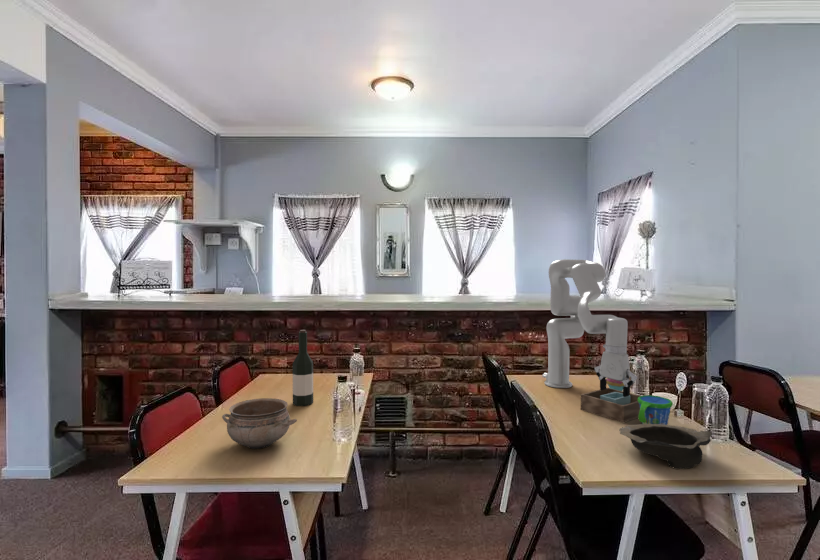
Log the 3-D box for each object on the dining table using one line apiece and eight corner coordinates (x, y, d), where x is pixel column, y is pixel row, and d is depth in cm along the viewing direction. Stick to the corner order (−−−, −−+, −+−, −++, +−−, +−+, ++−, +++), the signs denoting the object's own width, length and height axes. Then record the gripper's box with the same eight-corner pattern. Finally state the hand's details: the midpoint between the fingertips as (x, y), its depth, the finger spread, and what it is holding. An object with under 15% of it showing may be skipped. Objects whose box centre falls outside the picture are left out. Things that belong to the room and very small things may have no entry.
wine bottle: (288, 404, 185) (287, 331, 184) (300, 399, 193) (300, 328, 192) (305, 407, 182) (305, 332, 181) (317, 401, 190) (317, 329, 189)
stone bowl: (716, 482, 120) (714, 447, 120) (614, 467, 133) (612, 435, 133) (713, 449, 141) (711, 419, 141) (625, 438, 154) (623, 411, 154)
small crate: (599, 409, 178) (600, 395, 178) (615, 405, 184) (615, 391, 184) (615, 414, 173) (615, 399, 173) (630, 409, 178) (630, 395, 178)
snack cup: (652, 436, 152) (653, 406, 152) (625, 426, 162) (626, 398, 162) (683, 429, 159) (683, 400, 159) (655, 420, 169) (656, 392, 168)
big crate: (580, 409, 181) (580, 394, 181) (607, 402, 191) (608, 387, 191) (623, 422, 166) (623, 406, 166) (650, 413, 176) (650, 398, 176)
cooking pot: (308, 436, 151) (308, 400, 151) (282, 460, 133) (281, 419, 132) (239, 431, 156) (239, 395, 156) (204, 453, 137) (204, 413, 137)
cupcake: (622, 389, 210) (623, 363, 209) (629, 395, 201) (630, 367, 201) (603, 389, 211) (603, 363, 210) (609, 394, 202) (609, 367, 202)
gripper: (590, 346, 183) (588, 388, 184) (631, 354, 168) (629, 400, 169) (601, 344, 187) (600, 386, 188) (643, 352, 173) (641, 397, 174)
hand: (614, 392), depth 179 cm, fingers open, 9 cm apart
